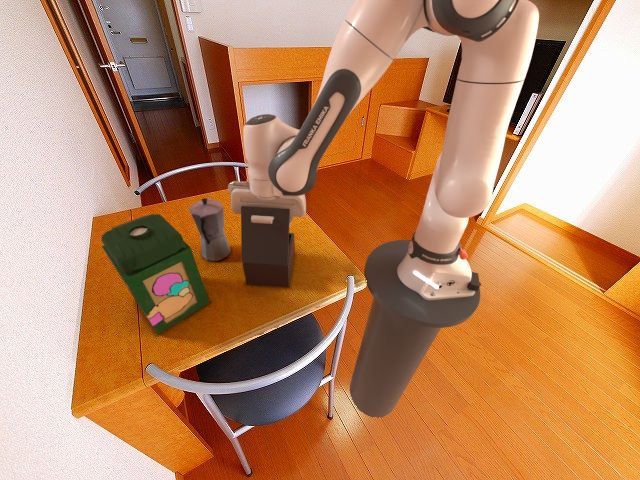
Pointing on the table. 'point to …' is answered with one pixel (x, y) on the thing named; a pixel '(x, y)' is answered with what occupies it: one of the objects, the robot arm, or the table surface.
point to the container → (156, 269)
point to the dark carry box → (271, 270)
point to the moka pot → (211, 228)
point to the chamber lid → (265, 235)
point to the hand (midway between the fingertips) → (271, 225)
